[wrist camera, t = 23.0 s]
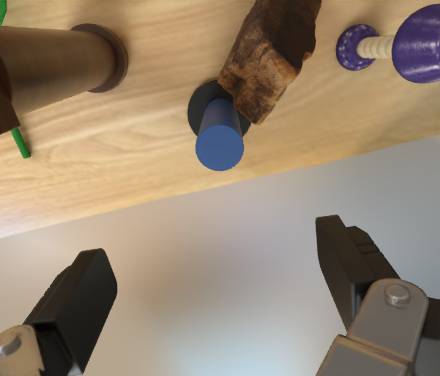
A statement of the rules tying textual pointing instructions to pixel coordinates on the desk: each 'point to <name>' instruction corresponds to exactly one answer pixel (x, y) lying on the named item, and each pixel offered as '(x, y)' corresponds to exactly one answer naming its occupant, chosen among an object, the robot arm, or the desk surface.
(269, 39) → the decorative rock
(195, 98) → the coaster
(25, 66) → the post
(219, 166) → the tube
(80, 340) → the robot arm
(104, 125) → the desk surface
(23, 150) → the decorative flower
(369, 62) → the toy lamp
